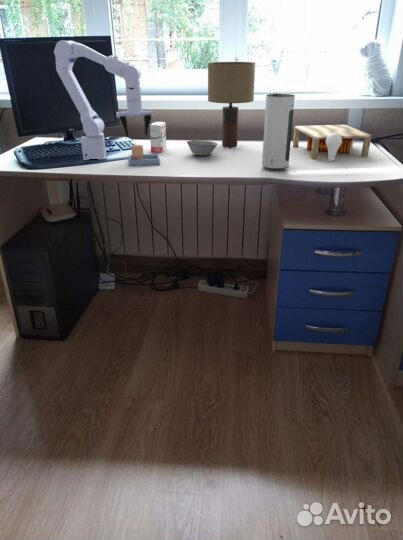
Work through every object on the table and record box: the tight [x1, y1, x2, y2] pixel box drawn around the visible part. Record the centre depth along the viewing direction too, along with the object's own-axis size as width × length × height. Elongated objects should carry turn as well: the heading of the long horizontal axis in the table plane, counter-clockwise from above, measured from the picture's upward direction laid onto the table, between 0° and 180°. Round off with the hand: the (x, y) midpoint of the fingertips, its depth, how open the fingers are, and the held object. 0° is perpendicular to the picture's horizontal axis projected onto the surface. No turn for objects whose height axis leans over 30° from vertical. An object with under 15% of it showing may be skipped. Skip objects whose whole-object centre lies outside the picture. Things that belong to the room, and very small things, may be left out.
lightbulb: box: [326, 133, 342, 162], centre depth 167 cm, size 6×6×11 cm
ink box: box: [149, 121, 167, 154], centre depth 186 cm, size 9×5×12 cm, turn 168°
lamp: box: [207, 61, 256, 148], centre depth 189 cm, size 20×20×35 cm
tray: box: [128, 153, 161, 167], centre depth 170 cm, size 12×9×2 cm
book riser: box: [292, 124, 372, 160], centre depth 184 cm, size 24×26×9 cm
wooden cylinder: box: [130, 144, 145, 160], centre depth 169 cm, size 5×5×6 cm
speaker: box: [261, 92, 296, 170], centre depth 159 cm, size 11×10×26 cm
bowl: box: [186, 139, 219, 156], centre depth 180 cm, size 13×13×5 cm
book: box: [306, 136, 355, 154], centre depth 189 cm, size 18×13×5 cm
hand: (136, 135), depth 172 cm, fingers open, 7 cm apart
